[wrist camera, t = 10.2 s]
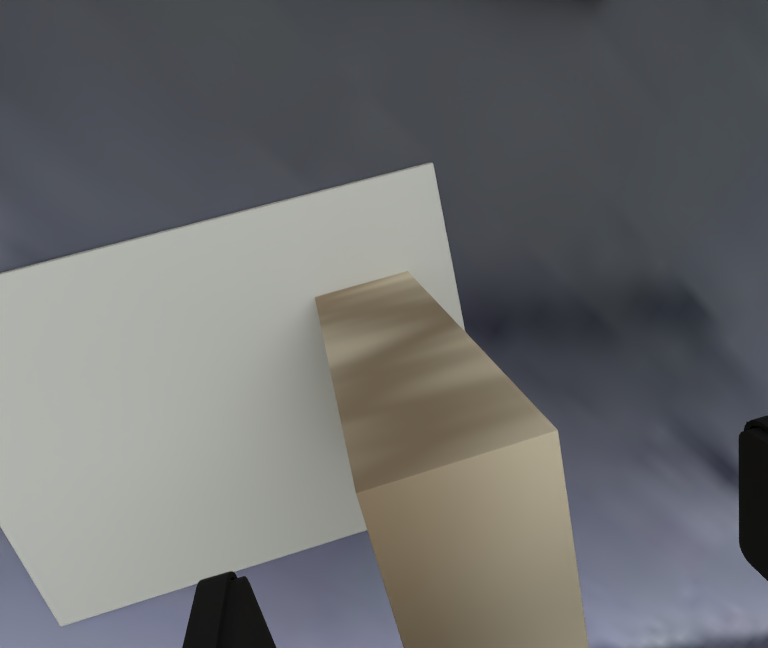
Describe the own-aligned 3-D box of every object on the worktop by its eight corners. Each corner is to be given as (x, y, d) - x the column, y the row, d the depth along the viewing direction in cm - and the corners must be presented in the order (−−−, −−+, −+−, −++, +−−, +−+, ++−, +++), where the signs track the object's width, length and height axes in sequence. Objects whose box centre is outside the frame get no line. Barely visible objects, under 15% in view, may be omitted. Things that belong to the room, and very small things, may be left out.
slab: (407, 270, 17) (557, 429, 8) (444, 432, 19) (596, 708, 10) (314, 297, 17) (355, 493, 8) (362, 457, 19) (440, 764, 10)
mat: (429, 162, 17) (433, 162, 16) (491, 483, 21) (495, 489, 20) (-121, 304, 15) (-132, 308, 15) (65, 617, 19) (60, 626, 19)
